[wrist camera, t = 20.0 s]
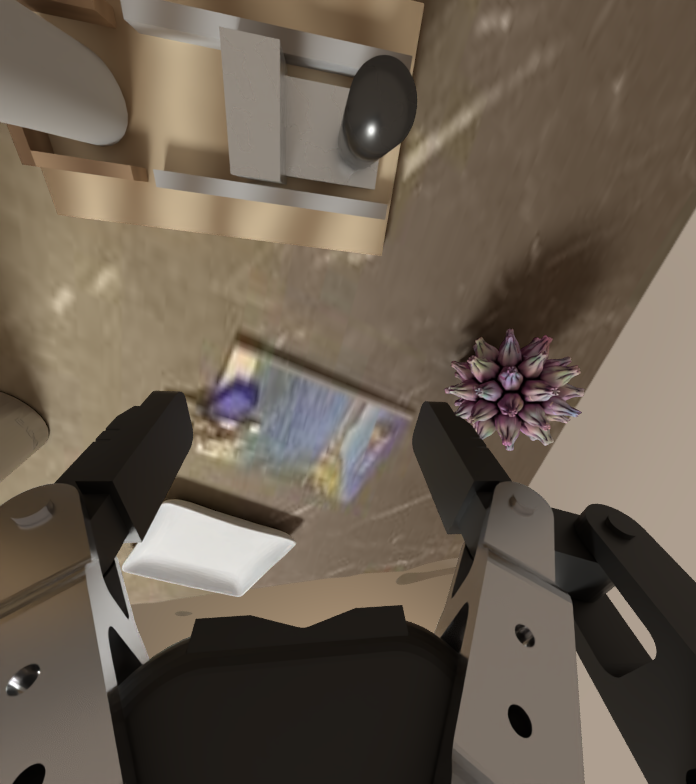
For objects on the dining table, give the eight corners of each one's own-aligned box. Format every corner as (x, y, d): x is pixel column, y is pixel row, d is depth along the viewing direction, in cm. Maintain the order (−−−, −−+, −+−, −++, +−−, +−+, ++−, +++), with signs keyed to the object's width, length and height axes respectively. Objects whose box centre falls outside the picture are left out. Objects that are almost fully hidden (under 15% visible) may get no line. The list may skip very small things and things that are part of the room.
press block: (245, 178, 21) (196, 163, 13) (238, 59, 18) (168, -61, 10) (371, 197, 22) (400, 195, 14) (387, 89, 19) (435, 5, 11)
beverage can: (64, 18, 17) (-319, -255, 7) (146, 103, 19) (-51, -8, 9) (33, 96, 18) (-312, -30, 8) (113, 166, 20) (-86, 134, 10)
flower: (543, 370, 35) (631, 438, 25) (451, 418, 38) (497, 494, 28) (518, 289, 29) (620, 335, 19) (412, 352, 32) (453, 420, 22)
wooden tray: (72, 214, 23) (35, 215, 20) (-32, -93, 15) (-114, -161, 12) (378, 253, 26) (385, 259, 23) (417, 16, 19) (435, -18, 16)
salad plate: (170, 482, 41) (159, 502, 38) (300, 524, 49) (299, 544, 46) (129, 552, 50) (117, 573, 47) (244, 578, 58) (240, 598, 55)
